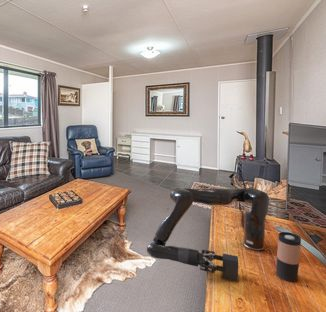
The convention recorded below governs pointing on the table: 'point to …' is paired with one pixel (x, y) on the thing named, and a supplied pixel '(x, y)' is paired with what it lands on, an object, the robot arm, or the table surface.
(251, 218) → the robot arm
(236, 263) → the slate block
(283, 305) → the table surface
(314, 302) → the table surface
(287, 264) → the travel mug
